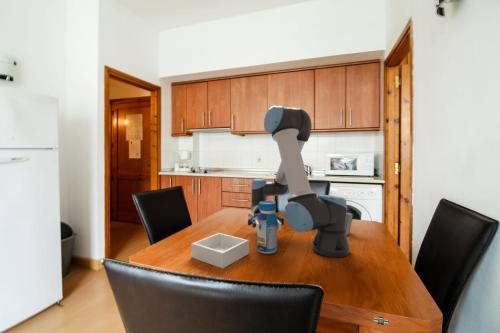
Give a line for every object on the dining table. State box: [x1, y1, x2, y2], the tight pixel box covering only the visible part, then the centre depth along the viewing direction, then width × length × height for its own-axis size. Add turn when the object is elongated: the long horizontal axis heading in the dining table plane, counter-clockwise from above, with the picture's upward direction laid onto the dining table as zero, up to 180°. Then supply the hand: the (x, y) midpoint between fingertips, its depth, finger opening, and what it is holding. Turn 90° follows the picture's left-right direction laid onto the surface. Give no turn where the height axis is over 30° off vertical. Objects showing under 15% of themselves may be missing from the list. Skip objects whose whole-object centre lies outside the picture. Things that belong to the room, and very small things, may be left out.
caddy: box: [190, 232, 250, 269], centre depth 98 cm, size 16×16×6 cm
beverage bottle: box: [256, 200, 278, 255], centre depth 102 cm, size 8×8×20 cm
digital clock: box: [346, 212, 354, 236], centre depth 130 cm, size 16×9×11 cm, turn 30°
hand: (269, 227), depth 97 cm, fingers closed on beverage bottle, 8 cm apart
